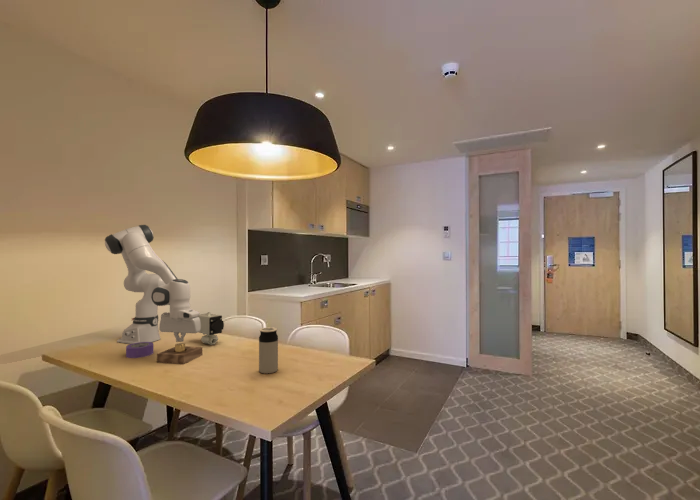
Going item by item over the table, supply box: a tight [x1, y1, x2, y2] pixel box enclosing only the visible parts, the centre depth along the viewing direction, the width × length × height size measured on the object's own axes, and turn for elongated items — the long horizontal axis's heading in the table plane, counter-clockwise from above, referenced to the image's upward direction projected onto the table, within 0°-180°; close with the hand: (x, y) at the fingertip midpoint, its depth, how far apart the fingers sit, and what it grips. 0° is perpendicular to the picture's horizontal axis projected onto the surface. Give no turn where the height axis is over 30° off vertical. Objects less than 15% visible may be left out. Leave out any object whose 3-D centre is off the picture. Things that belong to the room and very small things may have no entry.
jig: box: [156, 345, 203, 365], centre depth 163 cm, size 14×14×4 cm
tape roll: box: [125, 342, 154, 359], centre depth 170 cm, size 12×12×5 cm
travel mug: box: [258, 326, 279, 375], centre depth 146 cm, size 8×8×18 cm
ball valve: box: [197, 311, 225, 346], centre depth 190 cm, size 18×8×18 cm, turn 56°
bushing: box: [174, 342, 186, 352], centre depth 163 cm, size 4×4×7 cm
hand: (179, 341), depth 163 cm, fingers closed
